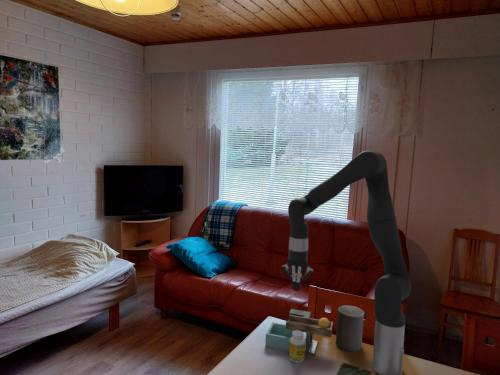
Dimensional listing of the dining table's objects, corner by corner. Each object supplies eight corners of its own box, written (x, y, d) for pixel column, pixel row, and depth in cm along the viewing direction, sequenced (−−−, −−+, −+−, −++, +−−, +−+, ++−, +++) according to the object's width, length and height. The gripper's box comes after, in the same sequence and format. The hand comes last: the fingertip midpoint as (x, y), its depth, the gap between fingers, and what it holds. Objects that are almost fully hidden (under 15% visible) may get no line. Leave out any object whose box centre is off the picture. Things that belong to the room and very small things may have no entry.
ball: (329, 327, 135) (330, 316, 135) (328, 332, 132) (329, 321, 131) (318, 325, 136) (319, 314, 136) (317, 330, 133) (318, 319, 132)
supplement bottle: (297, 353, 133) (298, 327, 132) (307, 360, 129) (309, 334, 128) (286, 357, 130) (287, 331, 129) (295, 364, 126) (297, 338, 125)
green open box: (296, 338, 143) (297, 326, 142) (291, 352, 133) (292, 339, 133) (271, 334, 146) (272, 322, 145) (265, 346, 136) (265, 334, 136)
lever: (334, 319, 145) (335, 312, 144) (331, 337, 130) (331, 330, 130) (291, 311, 150) (291, 305, 150) (282, 328, 135) (283, 321, 135)
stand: (317, 343, 140) (318, 321, 139) (313, 355, 131) (315, 332, 130) (304, 341, 141) (305, 318, 140) (300, 353, 133) (301, 329, 132)
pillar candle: (332, 346, 138) (335, 308, 136) (339, 335, 146) (342, 299, 145) (358, 354, 133) (361, 315, 132) (364, 342, 142) (367, 305, 140)
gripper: (316, 247, 146) (314, 289, 148) (284, 243, 150) (282, 284, 152) (313, 252, 139) (311, 296, 141) (279, 248, 143) (277, 291, 145)
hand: (296, 290), depth 146 cm, fingers closed
